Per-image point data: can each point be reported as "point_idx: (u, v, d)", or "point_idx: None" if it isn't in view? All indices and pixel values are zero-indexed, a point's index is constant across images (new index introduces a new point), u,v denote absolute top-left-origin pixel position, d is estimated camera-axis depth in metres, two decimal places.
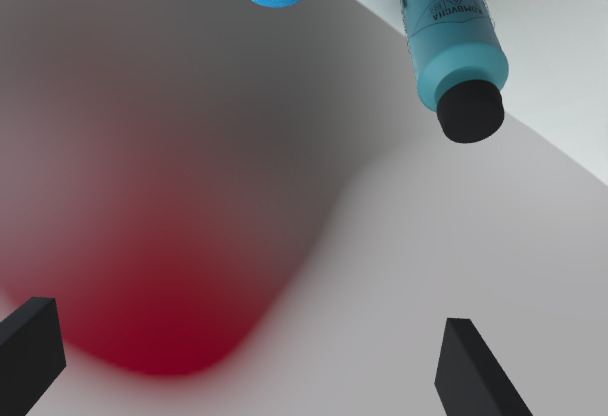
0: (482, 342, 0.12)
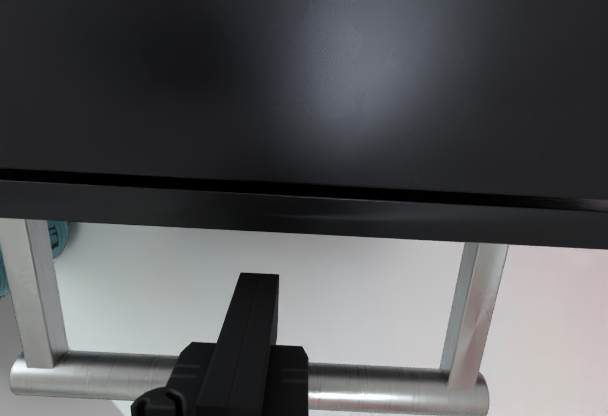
0: (276, 291, 0.14)
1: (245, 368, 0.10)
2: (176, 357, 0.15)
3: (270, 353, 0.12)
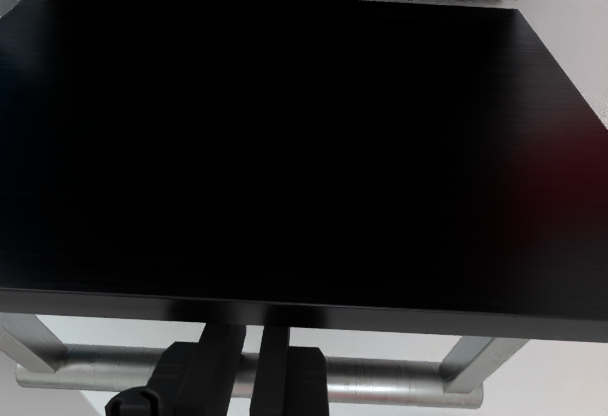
0: None
1: (265, 369, 0.10)
2: None
3: (287, 354, 0.12)
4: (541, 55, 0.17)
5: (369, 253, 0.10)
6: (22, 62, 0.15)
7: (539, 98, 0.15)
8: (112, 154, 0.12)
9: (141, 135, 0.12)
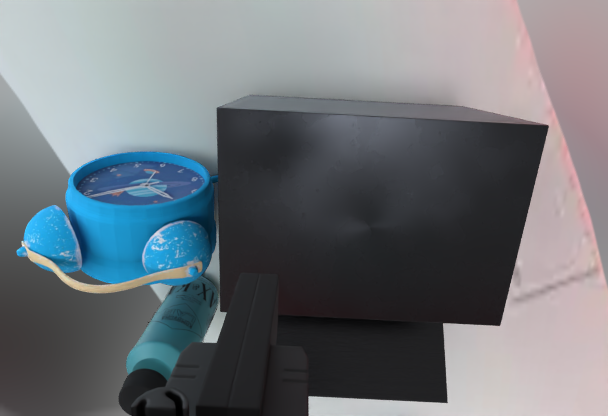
0: (277, 291, 0.14)
1: (245, 368, 0.10)
2: None
3: (270, 353, 0.12)
4: None
5: (370, 384, 0.45)
6: None
7: None
8: (306, 352, 0.46)
9: (311, 343, 0.46)
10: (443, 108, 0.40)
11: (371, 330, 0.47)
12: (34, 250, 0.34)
